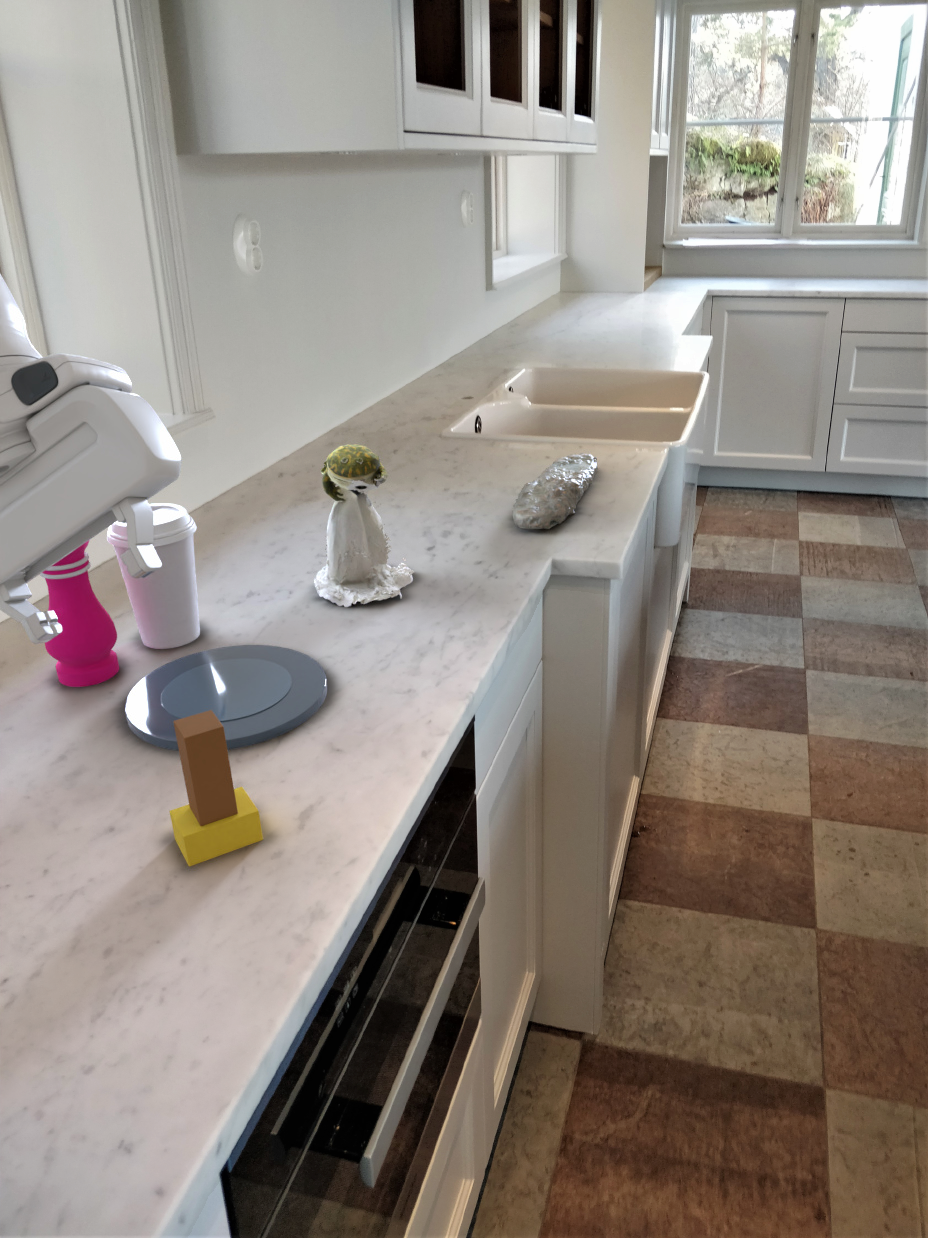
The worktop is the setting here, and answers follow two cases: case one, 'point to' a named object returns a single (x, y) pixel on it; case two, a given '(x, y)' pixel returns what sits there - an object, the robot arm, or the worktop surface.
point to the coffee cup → (164, 580)
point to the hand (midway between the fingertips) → (97, 606)
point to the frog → (356, 532)
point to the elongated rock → (554, 492)
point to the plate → (229, 694)
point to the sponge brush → (210, 794)
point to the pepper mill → (79, 624)
